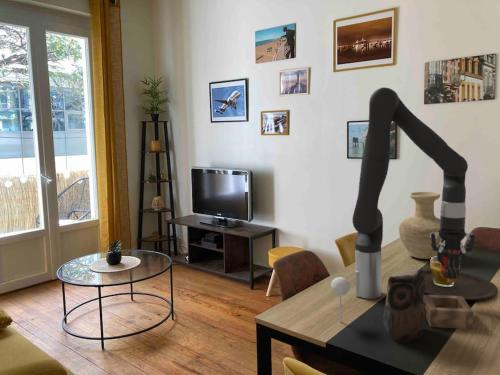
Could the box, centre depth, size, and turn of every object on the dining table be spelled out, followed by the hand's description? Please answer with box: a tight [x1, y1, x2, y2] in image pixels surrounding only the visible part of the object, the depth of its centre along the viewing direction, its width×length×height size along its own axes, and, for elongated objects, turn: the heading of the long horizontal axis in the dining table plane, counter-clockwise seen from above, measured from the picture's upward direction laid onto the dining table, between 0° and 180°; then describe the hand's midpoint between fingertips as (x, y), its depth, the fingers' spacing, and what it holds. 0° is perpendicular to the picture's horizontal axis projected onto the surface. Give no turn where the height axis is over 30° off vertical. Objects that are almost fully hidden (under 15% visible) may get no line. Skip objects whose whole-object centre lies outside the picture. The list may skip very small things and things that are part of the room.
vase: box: [398, 191, 441, 260], centre depth 193 cm, size 22×22×30 cm
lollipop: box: [330, 276, 351, 323], centre depth 133 cm, size 6×6×15 cm
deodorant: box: [439, 234, 462, 280], centre depth 141 cm, size 6×6×15 cm
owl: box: [382, 267, 427, 343], centre depth 123 cm, size 13×13×20 cm
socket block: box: [423, 294, 474, 330], centre depth 132 cm, size 12×12×6 cm
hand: (450, 262), depth 142 cm, fingers closed on deodorant, 6 cm apart
